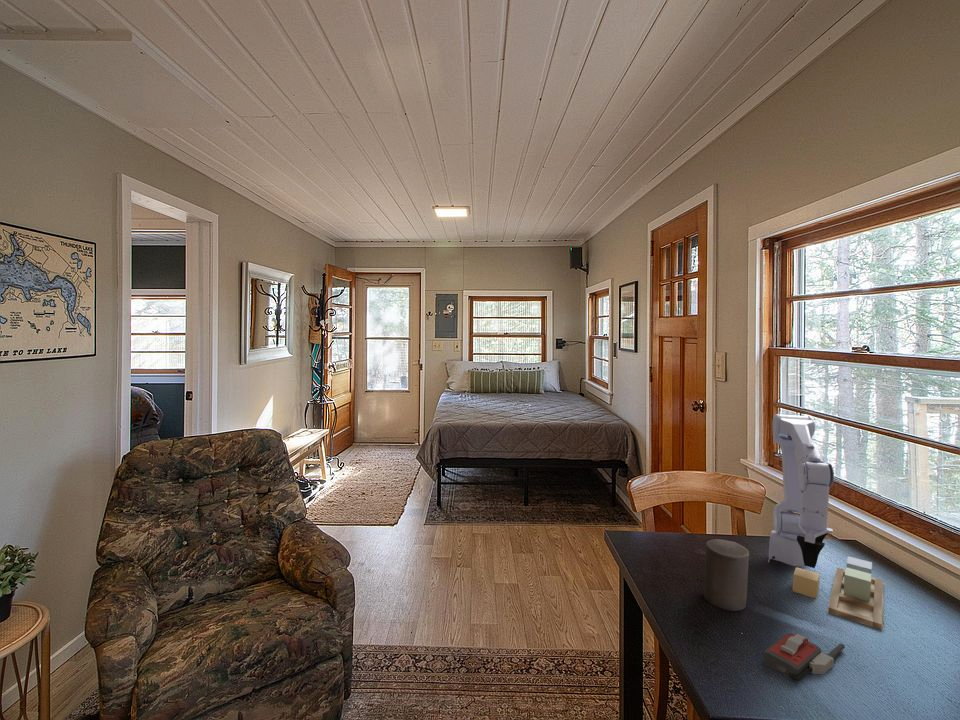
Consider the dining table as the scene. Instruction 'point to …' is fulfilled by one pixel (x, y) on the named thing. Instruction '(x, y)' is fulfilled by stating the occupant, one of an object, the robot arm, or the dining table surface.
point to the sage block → (857, 584)
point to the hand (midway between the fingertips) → (811, 560)
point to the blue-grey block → (859, 564)
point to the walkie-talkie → (799, 657)
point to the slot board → (857, 602)
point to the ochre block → (806, 582)
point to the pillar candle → (726, 574)
